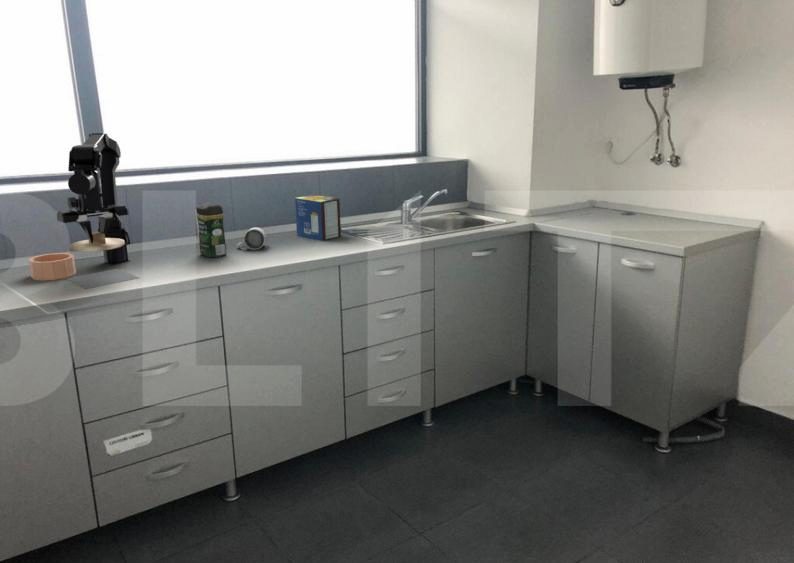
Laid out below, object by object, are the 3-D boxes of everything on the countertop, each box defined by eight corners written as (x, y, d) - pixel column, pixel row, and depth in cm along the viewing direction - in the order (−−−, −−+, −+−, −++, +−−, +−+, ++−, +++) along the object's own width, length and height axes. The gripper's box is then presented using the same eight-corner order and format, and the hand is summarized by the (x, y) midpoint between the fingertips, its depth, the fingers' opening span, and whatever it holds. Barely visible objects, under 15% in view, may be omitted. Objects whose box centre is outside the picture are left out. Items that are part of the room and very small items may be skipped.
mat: (118, 270, 204) (118, 268, 204) (140, 279, 193) (139, 277, 193) (65, 279, 193) (65, 278, 193) (85, 290, 182) (85, 288, 182)
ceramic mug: (267, 244, 239) (265, 224, 237) (265, 249, 231) (263, 228, 229) (238, 246, 238) (236, 226, 236) (236, 251, 230) (234, 230, 228)
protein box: (315, 231, 262) (313, 194, 258) (341, 236, 253) (340, 198, 248) (296, 235, 255) (294, 197, 250) (322, 241, 245) (320, 201, 241)
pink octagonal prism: (67, 269, 205) (64, 251, 203) (81, 276, 197) (78, 257, 195) (27, 276, 197) (23, 257, 195) (39, 284, 189) (36, 264, 187)
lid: (112, 238, 200) (111, 226, 199) (133, 245, 190) (131, 233, 189) (62, 246, 190) (60, 233, 189) (81, 254, 180) (79, 241, 179)
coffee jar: (196, 254, 224) (191, 202, 219) (217, 251, 229) (213, 200, 224) (209, 259, 217) (204, 205, 212) (230, 255, 222) (225, 203, 217)
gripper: (110, 184, 197) (117, 233, 202) (46, 190, 184) (54, 242, 189) (125, 187, 190) (132, 238, 194) (59, 194, 177) (68, 248, 181)
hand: (97, 241), depth 190 cm, fingers closed on lid, 3 cm apart
